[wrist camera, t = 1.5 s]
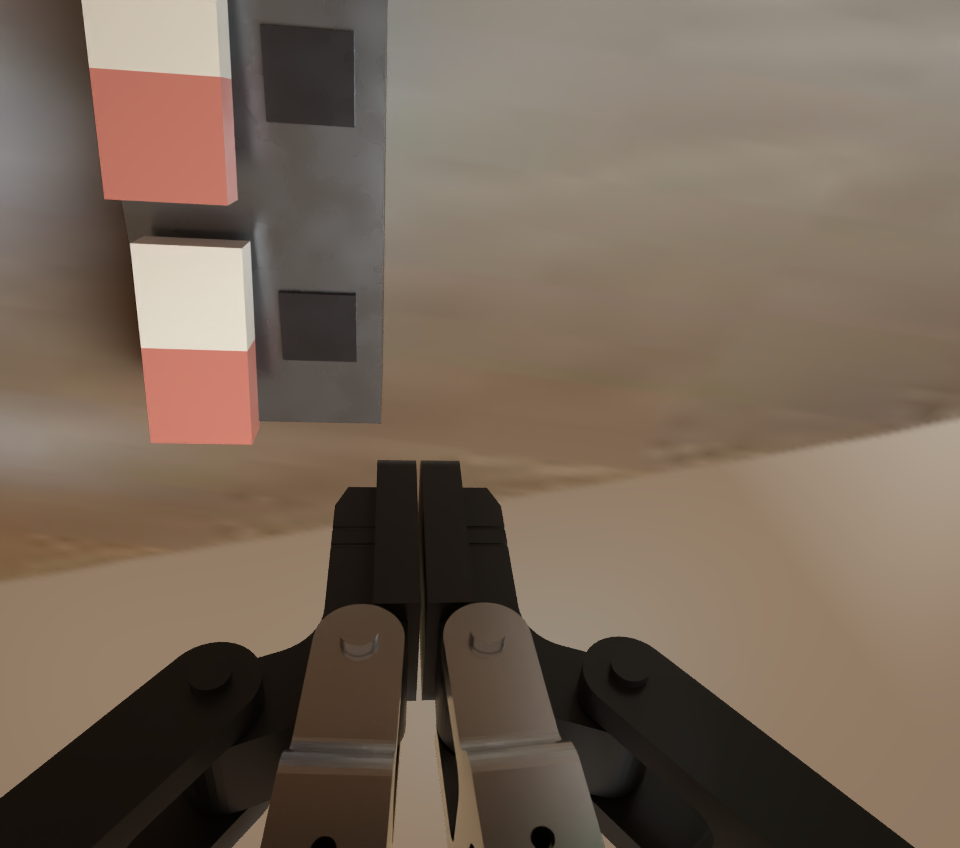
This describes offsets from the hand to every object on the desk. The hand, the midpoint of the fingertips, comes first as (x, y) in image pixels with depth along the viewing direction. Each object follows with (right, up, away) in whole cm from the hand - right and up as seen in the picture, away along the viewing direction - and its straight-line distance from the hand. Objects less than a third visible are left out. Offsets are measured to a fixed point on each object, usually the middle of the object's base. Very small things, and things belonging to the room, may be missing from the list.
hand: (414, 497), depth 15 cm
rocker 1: (-9, +13, +12) cm, 20 cm away
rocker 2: (-10, +5, +17) cm, 21 cm away
